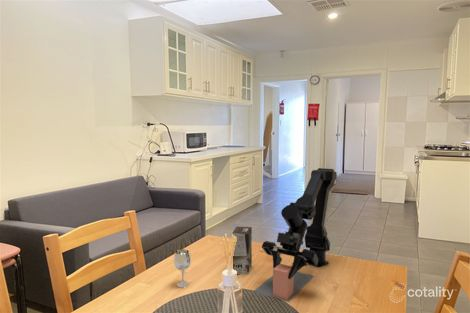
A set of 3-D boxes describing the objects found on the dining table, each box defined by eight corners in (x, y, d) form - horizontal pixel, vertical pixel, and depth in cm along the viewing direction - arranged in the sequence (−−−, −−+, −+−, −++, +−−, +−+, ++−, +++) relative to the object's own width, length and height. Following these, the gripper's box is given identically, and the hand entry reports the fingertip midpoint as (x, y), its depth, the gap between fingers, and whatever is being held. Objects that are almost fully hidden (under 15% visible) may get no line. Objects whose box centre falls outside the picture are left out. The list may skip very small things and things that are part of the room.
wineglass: (193, 282, 122) (193, 249, 121) (186, 289, 116) (185, 255, 115) (179, 279, 124) (178, 248, 123) (171, 287, 118) (170, 253, 117)
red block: (279, 289, 115) (279, 263, 114) (293, 293, 112) (293, 267, 112) (272, 295, 111) (273, 268, 110) (286, 299, 108) (287, 272, 108)
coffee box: (248, 276, 127) (248, 233, 125) (231, 274, 128) (231, 232, 126) (252, 266, 135) (252, 226, 134) (236, 264, 137) (236, 225, 135)
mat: (282, 268, 132) (282, 267, 132) (314, 277, 125) (314, 275, 125) (253, 292, 114) (253, 291, 114) (288, 303, 107) (288, 301, 107)
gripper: (264, 218, 118) (247, 259, 110) (315, 226, 108) (301, 273, 100) (274, 234, 125) (259, 273, 117) (323, 243, 115) (311, 287, 107)
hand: (281, 276), depth 110 cm, fingers closed on red block, 5 cm apart
